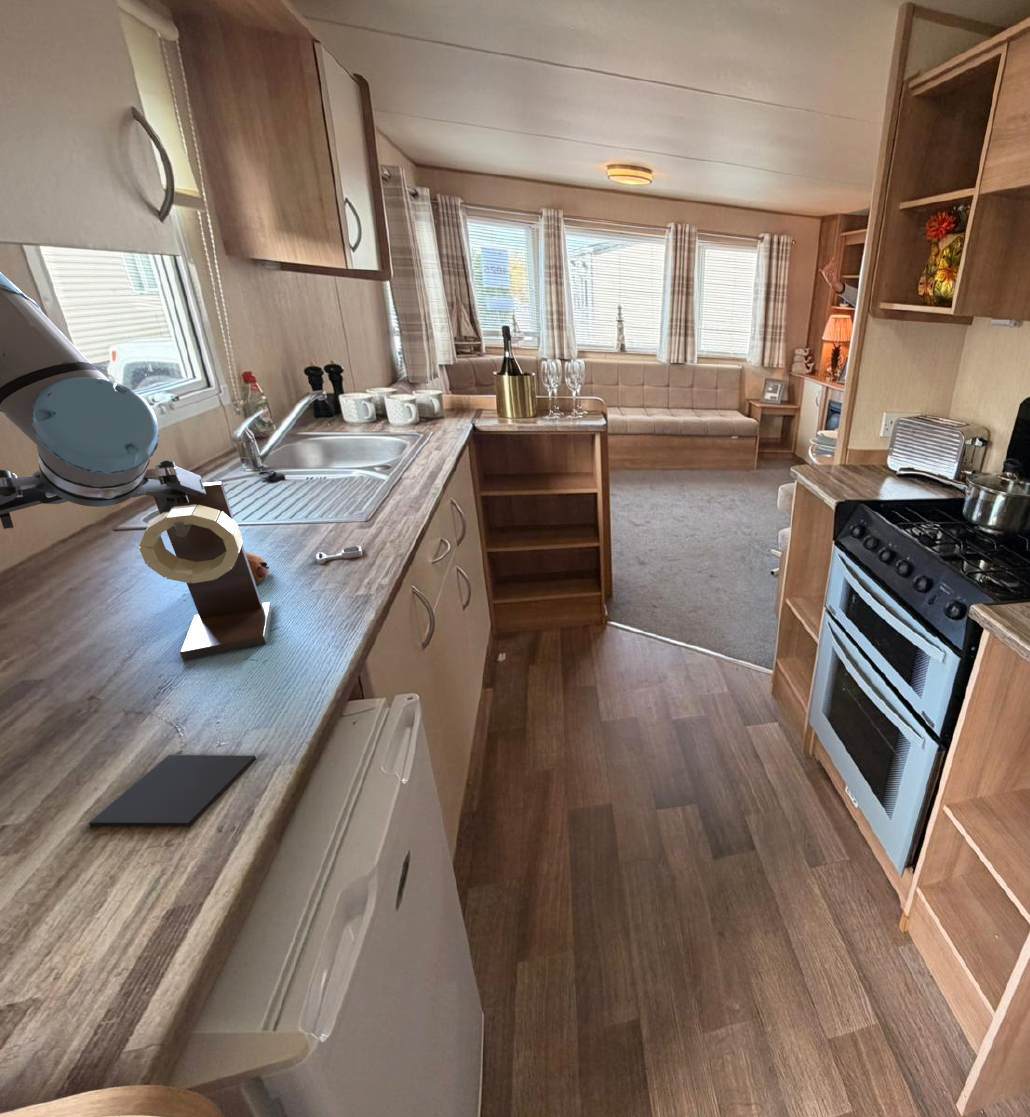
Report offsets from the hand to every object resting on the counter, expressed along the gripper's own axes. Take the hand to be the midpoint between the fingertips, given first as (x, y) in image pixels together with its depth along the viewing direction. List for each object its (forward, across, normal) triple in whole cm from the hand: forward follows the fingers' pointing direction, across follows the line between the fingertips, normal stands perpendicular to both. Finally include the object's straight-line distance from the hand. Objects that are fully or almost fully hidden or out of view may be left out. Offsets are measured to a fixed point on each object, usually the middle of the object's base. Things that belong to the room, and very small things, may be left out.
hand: (89, 509), depth 75 cm
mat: (-14, -1, -36) cm, 39 cm away
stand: (+17, +12, -19) cm, 28 cm away
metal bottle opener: (+33, +35, -8) cm, 49 cm away
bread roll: (+35, +18, -9) cm, 41 cm away
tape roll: (+10, +10, -10) cm, 17 cm away
